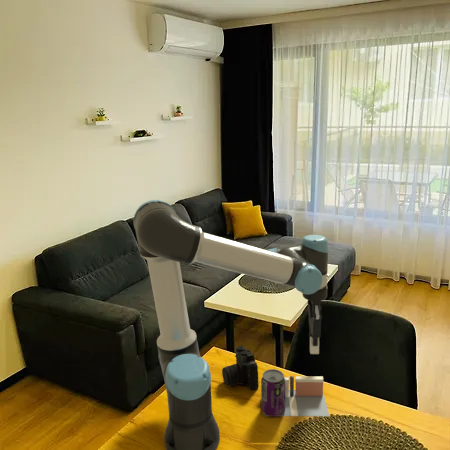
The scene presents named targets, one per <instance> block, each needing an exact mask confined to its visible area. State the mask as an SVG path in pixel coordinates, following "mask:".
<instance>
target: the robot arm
mask: <svg viewBox="0 0 450 450" xmlns="http://www.w3.org/2000/svg"><path fill="white" fill-rule="evenodd" d="M132 220H133V221H132V222H133V227H134V228H133V229H134V230H135V233H136V235H135V236H136V239H137V244H138V251H139V254H140V255H139V256H140V257H141V258H142V259H145V260H146V262H147V267H148V272H149V278H150V284H151V289H152V294H153V300H154V305H155V311H156V312H155V313H156V317H157V323H158V327H159V332H160V335H159V336H158V337H157V339H156V345H157V351H158V361H159V364H160V368H161V372H162V376H163V380H164V384H165V389H166V396H167V406H168V407H167V409H168V416H169V417H168V421H167V424H166V428H165V431H164V438H163V439H164V447H165V450H217V449H218V446H219V444H220V441H221V440H220V438H221V435H220V429H219V425H218V423H217V420H216V419H215V415H214V414H213V405H212V404H213V403H212V402H213V401H212V386H211V385H212V374H211V370H210V366H209V363H208V362H207V361H206V359H204V357H202V356H201V354H200V349H199V343H198V338H197V337H198V336H197V333H196V331H195V330H193V329H191V326H190V319H189V315H188V309H187V307H188V306H187V301H186V296H185V295H186V294H185V290H184V282H183V278H182V277H183V275H182V270H181V263H182V264H185V265H192V264H194V263H199V264H203V265H206V266H209V267H214V268H218V269H221V270H222V269H223V270H226V271H229V272H233V273H237V274H242V275H246V276H249V277H253V278H257V279H261V280H265V281H268V282H273V283H277V284H281V285H285V286H288V287H292V288H295V290H297V291H298V292H299V293H302V297H303V298H304V299H306V300H307V306H308V310H307V311H308V328H309V333H308V337H309V353H310V355H319V354H320V338H321V335H322V333H321V332H322V331H321V330H322V329H321V328H322V319H323V313H322V309H323V303H322V302H321V301H324V300H326V299H327V297H328V278H329V277H330V274H329V273H328V268H329V267H328V266H329V265H328V264H329V263H328V262H329V260H328V257H329V256H328V255H329V244H328V239H327V238H326V236H323V235H320V234H307V235H305V236H303V237H302V239H301V240H302V241H301V244H297V245H289V246H281V247H274V248H269V249H264V248H260V247H256V246H253V245H249V244H246V243H242V242H239V241H236V240H232V239H229V238H226V237H222V236H218V235H215V234H211V233H207V232H205V231H203V230H202V228H201V226H199V225H195V224H191V223H190V222H187V221H186V220H183V219H182V218H181V217H180V216H179V215H178V214H177V212H176V210H175V208H174V207H173V206H172V205H171V204H169V203H167V202H166V201H164V200H160V199H151V200H148V201H146V202H143V203H142V204H140V206H138V208H137V209H136V211H135V213H134V216H133V219H132Z"/></svg>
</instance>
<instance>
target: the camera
mask: <svg viewBox="0 0 450 450" xmlns="http://www.w3.org/2000/svg"><path fill="white" fill-rule="evenodd" d="M234 358H235V361H236V362H235V363H233V364H231V365H226V366H224V367H222V370H221V376H222V378H223V379H222V380H223V382H224V384H225V387H226V386H227V387H234V386H237V385H239V384H240V385H241V386H243V387H245V386H247V387H248V389H249V390H250V391H251V392H252V391H256V390H258V389H259V384H260V383H259V367H258V363H257V362H256V359H255V355H254V354H253V352H252V351H251V350H249V348H247V349H246V346H244V345H239V346H236V348H235V357H234Z"/></svg>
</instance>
